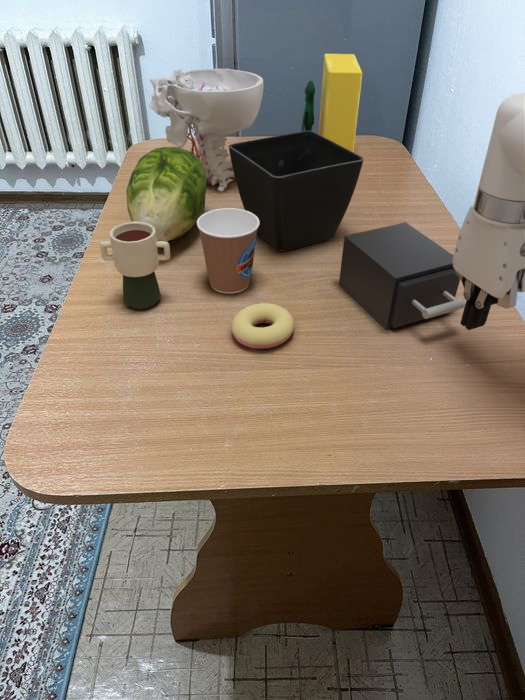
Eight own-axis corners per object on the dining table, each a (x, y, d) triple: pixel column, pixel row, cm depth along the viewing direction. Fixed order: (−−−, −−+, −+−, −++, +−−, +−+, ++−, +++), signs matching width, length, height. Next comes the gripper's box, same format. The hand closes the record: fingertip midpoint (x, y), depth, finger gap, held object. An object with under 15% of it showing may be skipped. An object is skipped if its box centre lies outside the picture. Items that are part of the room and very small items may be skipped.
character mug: (176, 289, 99) (170, 221, 90) (173, 313, 93) (165, 242, 85) (114, 289, 98) (101, 221, 90) (106, 313, 93) (92, 242, 84)
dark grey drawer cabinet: (448, 311, 95) (461, 260, 89) (385, 329, 90) (395, 278, 84) (396, 269, 105) (405, 222, 99) (338, 284, 101) (344, 235, 94)
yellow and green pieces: (297, 152, 151) (303, 52, 136) (344, 153, 151) (354, 53, 135) (299, 178, 137) (305, 71, 122) (350, 179, 137) (362, 72, 122)
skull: (260, 167, 142) (262, 68, 128) (263, 199, 128) (265, 91, 113) (161, 167, 141) (150, 67, 127) (152, 199, 127) (139, 91, 112)
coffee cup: (248, 304, 95) (248, 240, 88) (191, 293, 98) (186, 230, 90) (265, 273, 103) (267, 212, 95) (213, 264, 105) (210, 204, 98)
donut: (301, 345, 90) (264, 312, 95) (309, 323, 87) (271, 289, 92) (253, 363, 84) (217, 327, 89) (260, 340, 81) (222, 303, 86)
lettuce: (116, 265, 104) (102, 185, 95) (147, 203, 125) (138, 132, 115) (196, 269, 104) (190, 189, 94) (214, 206, 124) (211, 135, 115)
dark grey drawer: (469, 325, 90) (481, 283, 85) (410, 343, 86) (420, 301, 81) (402, 271, 102) (410, 233, 97) (348, 285, 99) (354, 246, 94)
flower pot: (228, 223, 118) (226, 142, 108) (305, 205, 125) (310, 128, 115) (272, 264, 105) (275, 177, 95) (355, 242, 113) (366, 159, 102)
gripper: (578, 222, 66) (531, 347, 77) (487, 178, 76) (457, 293, 88) (530, 234, 63) (489, 361, 74) (442, 187, 74) (418, 305, 85)
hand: (472, 324), depth 81 cm, fingers closed
